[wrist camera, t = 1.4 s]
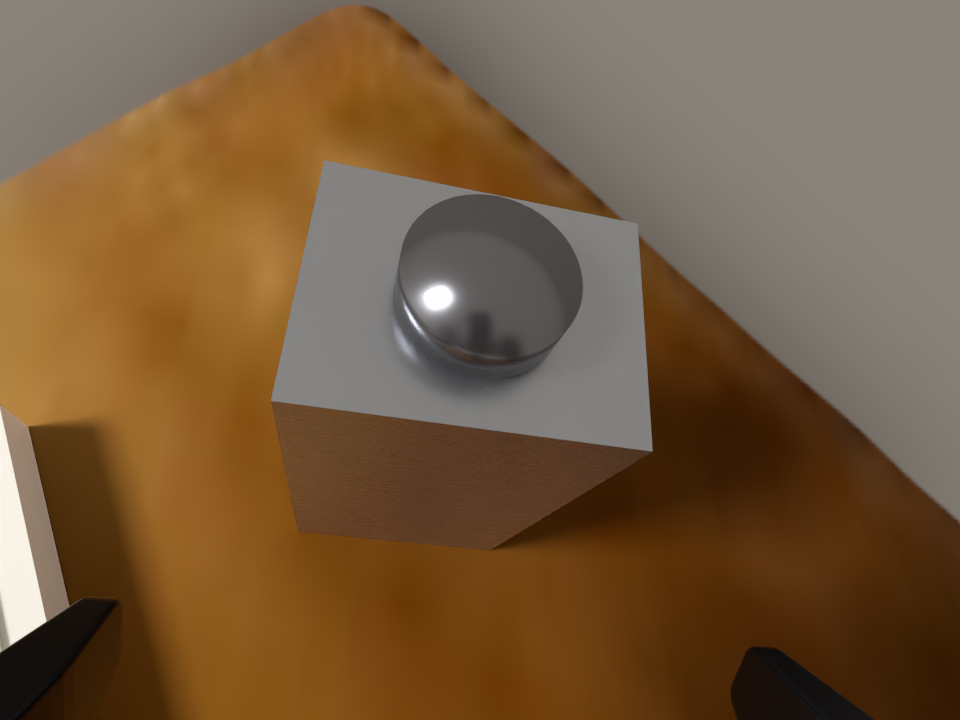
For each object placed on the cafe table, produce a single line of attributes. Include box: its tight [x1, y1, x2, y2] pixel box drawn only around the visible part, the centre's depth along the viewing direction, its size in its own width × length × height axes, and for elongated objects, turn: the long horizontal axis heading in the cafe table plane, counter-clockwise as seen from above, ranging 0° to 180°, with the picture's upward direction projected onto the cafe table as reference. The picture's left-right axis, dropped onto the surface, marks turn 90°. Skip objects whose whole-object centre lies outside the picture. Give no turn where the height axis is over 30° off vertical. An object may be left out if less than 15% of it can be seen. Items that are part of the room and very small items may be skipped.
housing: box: [271, 160, 653, 550], centre depth 16 cm, size 5×6×13 cm
